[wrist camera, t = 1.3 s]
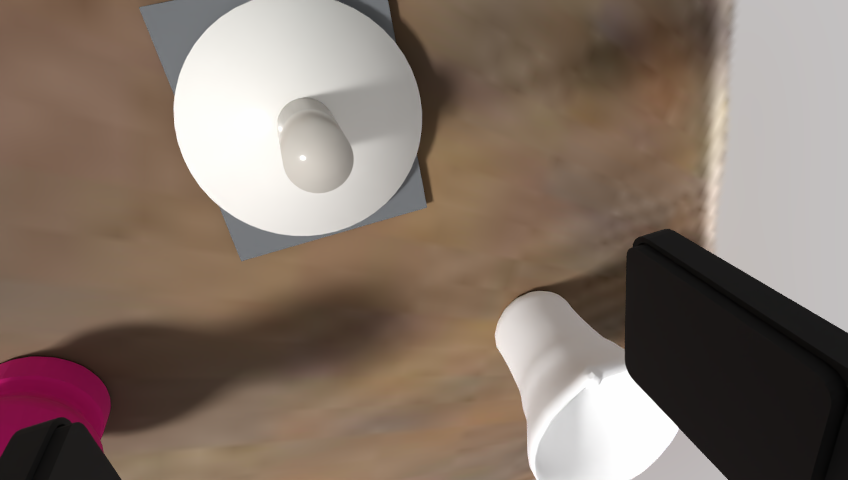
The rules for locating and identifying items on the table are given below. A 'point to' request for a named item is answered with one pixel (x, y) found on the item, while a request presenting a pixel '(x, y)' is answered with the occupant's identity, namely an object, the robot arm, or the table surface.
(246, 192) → the lid
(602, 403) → the cup
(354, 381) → the table surface
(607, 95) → the table surface
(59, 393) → the pepper mill
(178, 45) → the mat
